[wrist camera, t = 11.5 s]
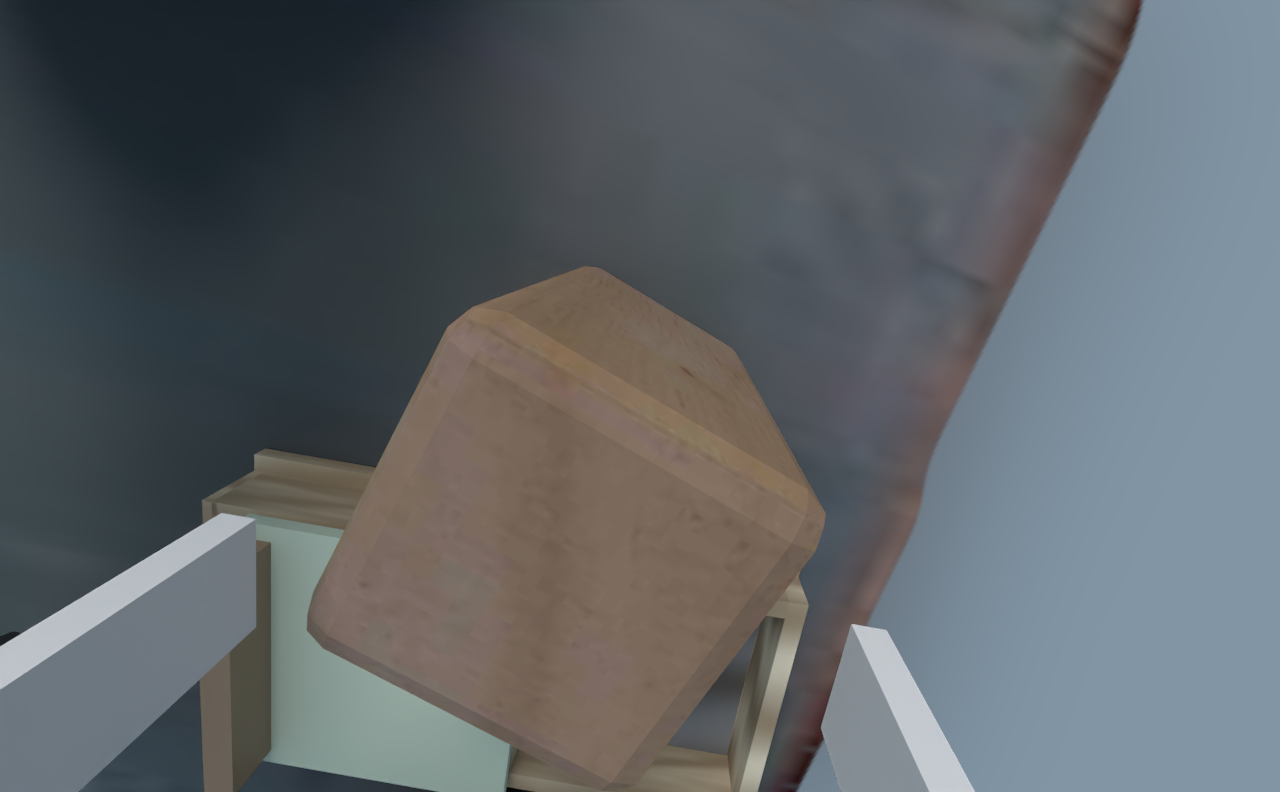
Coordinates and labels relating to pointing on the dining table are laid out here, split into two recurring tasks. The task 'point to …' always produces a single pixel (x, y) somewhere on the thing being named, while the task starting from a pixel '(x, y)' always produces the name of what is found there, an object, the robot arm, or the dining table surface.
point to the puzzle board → (671, 787)
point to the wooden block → (570, 527)
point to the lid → (325, 694)
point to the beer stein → (516, 790)
